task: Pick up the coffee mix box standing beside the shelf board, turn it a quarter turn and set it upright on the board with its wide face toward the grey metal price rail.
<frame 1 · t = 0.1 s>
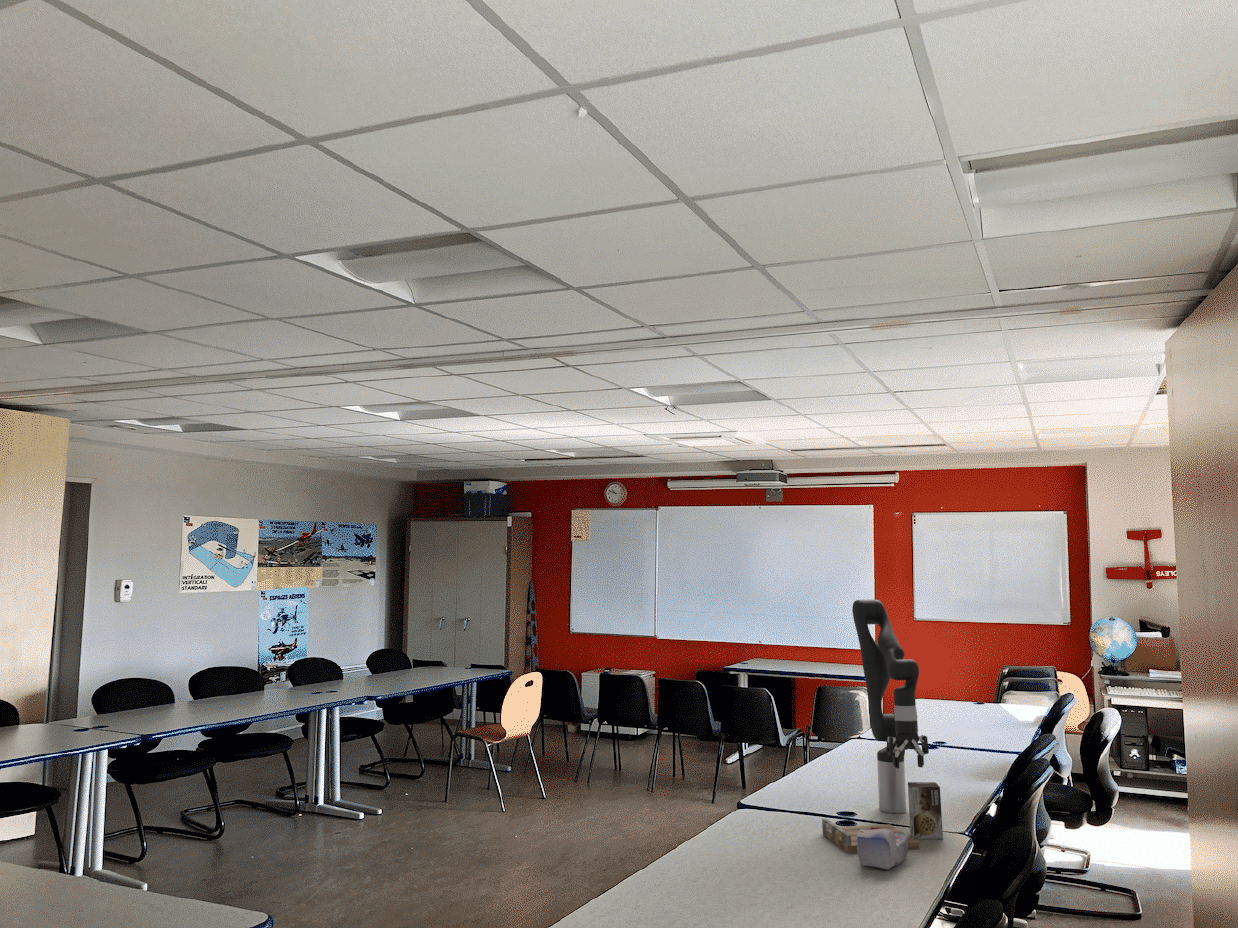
hand: (908, 767, 317), 17 cm above the table, fingers open, 8 cm apart
coffee box: (926, 836, 296), on the table
shelf board: (869, 841, 291), on the table
cell model: (882, 862, 270), on the table
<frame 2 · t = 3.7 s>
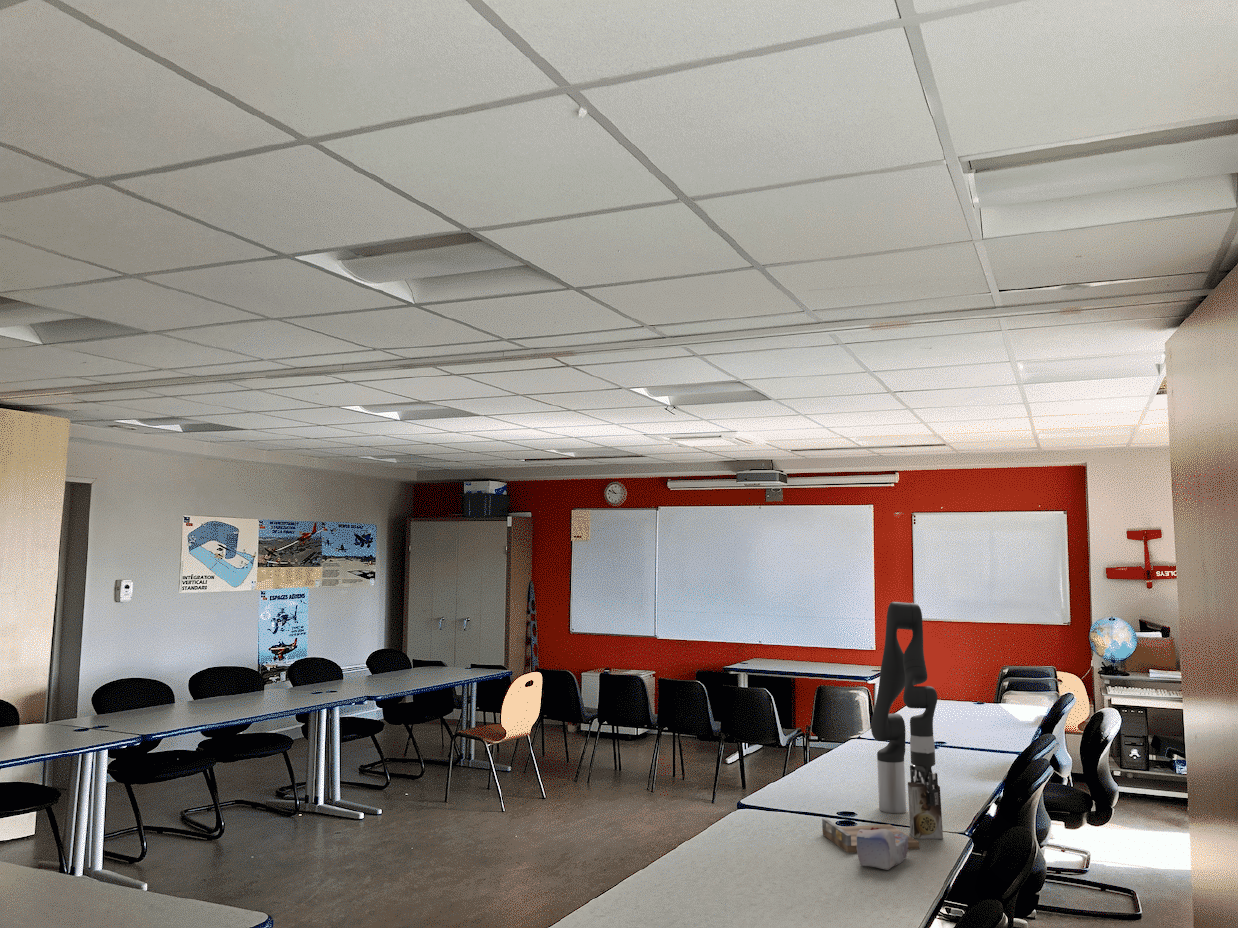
hand: (924, 802, 297), 10 cm above the table, fingers closed on coffee box, 7 cm apart
coffee box: (926, 836, 296), on the table, touching gripper
everything else where it was.
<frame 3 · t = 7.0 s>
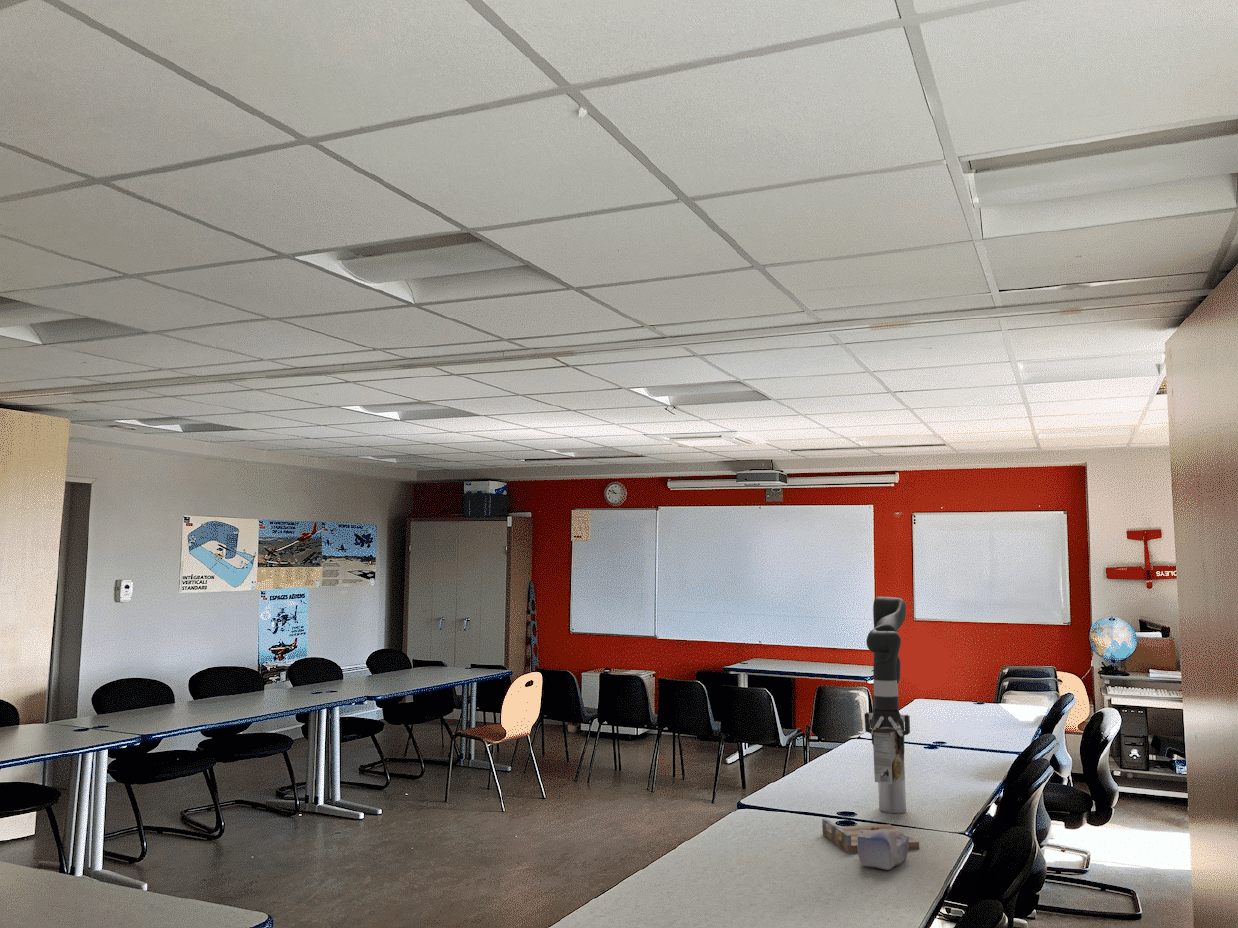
hand: (888, 747, 296), 28 cm above the table, fingers closed on coffee box, 7 cm apart
coffee box: (889, 781, 294), point 18 cm above the table, touching gripper
everything else where it was.
when the fingers open (14 cm above the table, at t = 10.5 s): coffee box drops 1 cm, resting on shelf board.
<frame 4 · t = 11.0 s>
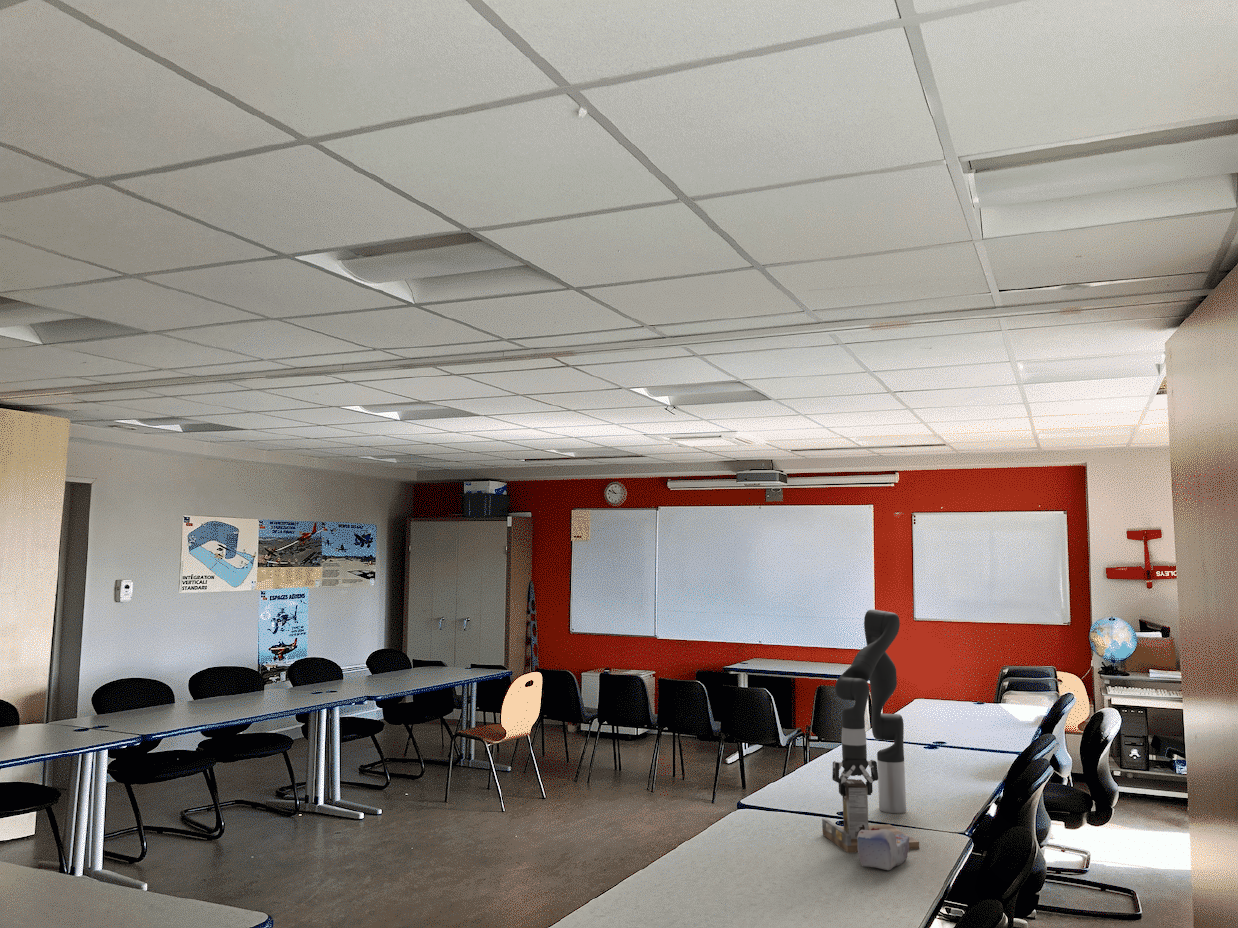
hand: (855, 795, 292), 14 cm above the table, fingers open, 8 cm apart
coffee box: (856, 835, 290), point 2 cm above the table, touching shelf board
everything else where it was.
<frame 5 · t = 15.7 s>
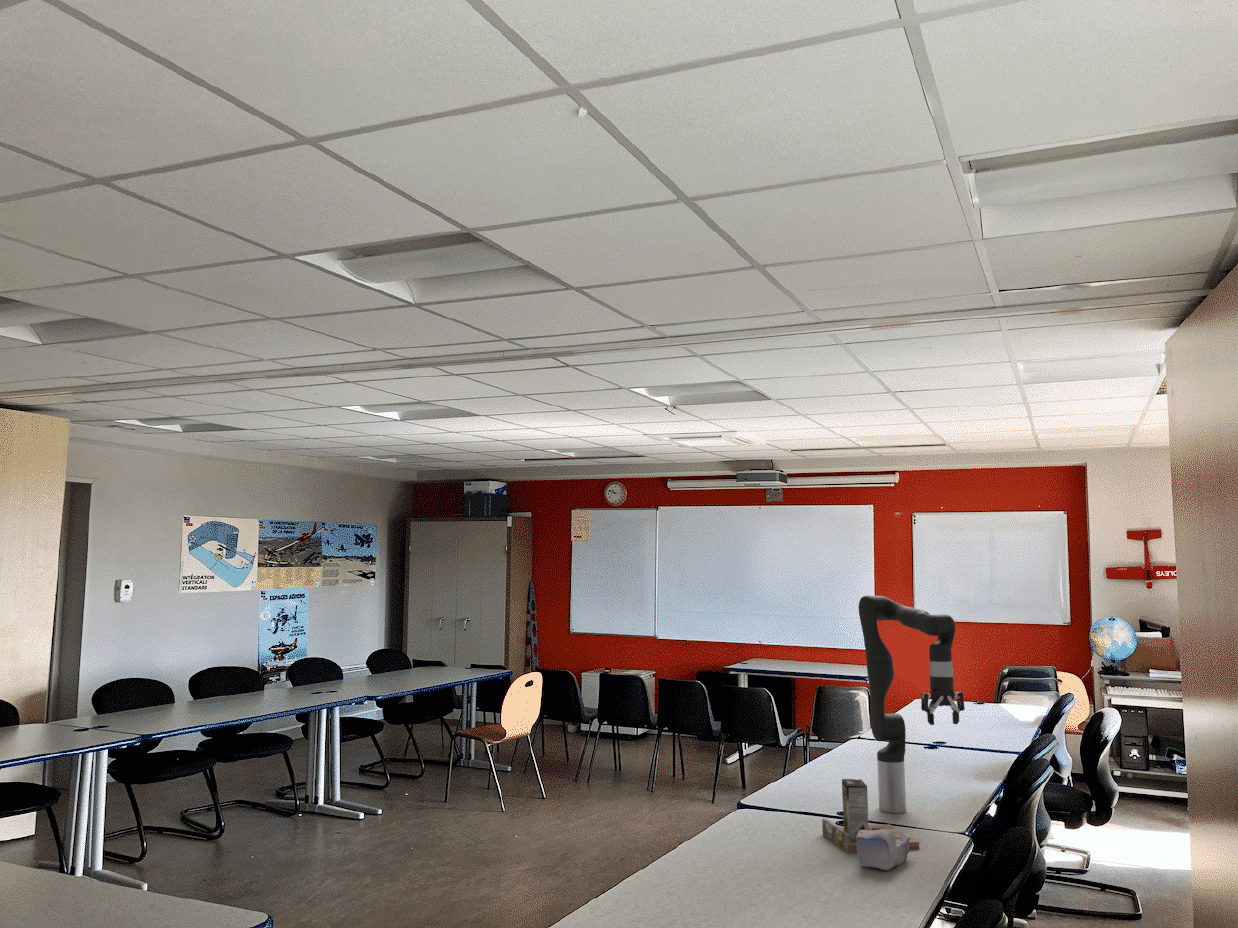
hand: (943, 724, 310), 33 cm above the table, fingers open, 8 cm apart
nothing on the table moved.
at the end: coffee box inside the target area (0.4 cm from its centre), point 1.8 cm above the table; coffee box tilted 0°; the gripper is holding nothing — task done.
